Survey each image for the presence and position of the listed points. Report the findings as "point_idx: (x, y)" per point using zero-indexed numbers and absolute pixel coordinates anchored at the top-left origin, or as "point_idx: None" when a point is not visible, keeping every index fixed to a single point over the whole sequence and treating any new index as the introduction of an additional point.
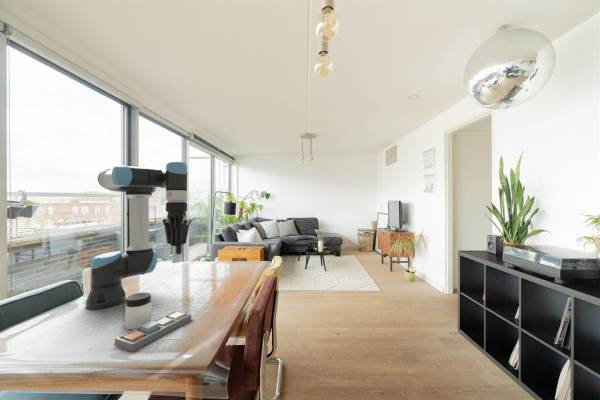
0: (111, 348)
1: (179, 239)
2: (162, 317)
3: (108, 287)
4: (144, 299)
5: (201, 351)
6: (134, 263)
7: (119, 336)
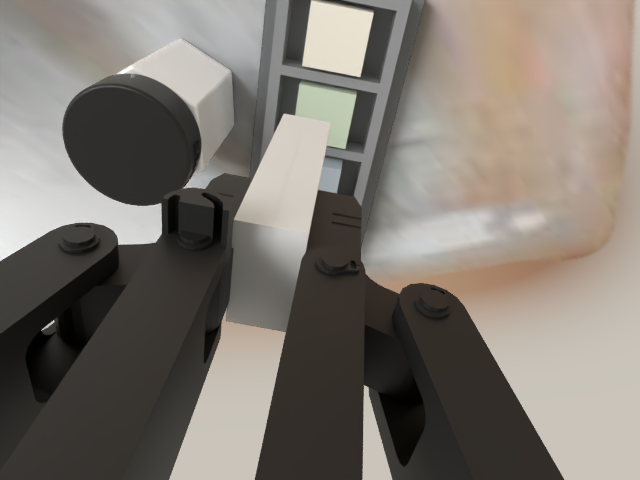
0: None
1: (394, 455)
2: (279, 74)
3: None
4: (191, 165)
5: (569, 192)
6: None
7: None
